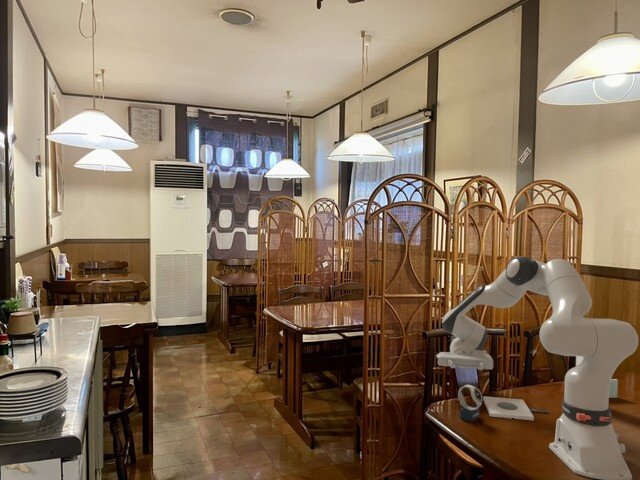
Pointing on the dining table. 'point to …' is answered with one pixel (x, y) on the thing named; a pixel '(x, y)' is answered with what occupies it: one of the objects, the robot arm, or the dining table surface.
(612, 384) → the right angle wall
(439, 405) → the dining table surface
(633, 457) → the dining table surface
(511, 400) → the charging pad
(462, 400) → the watch
